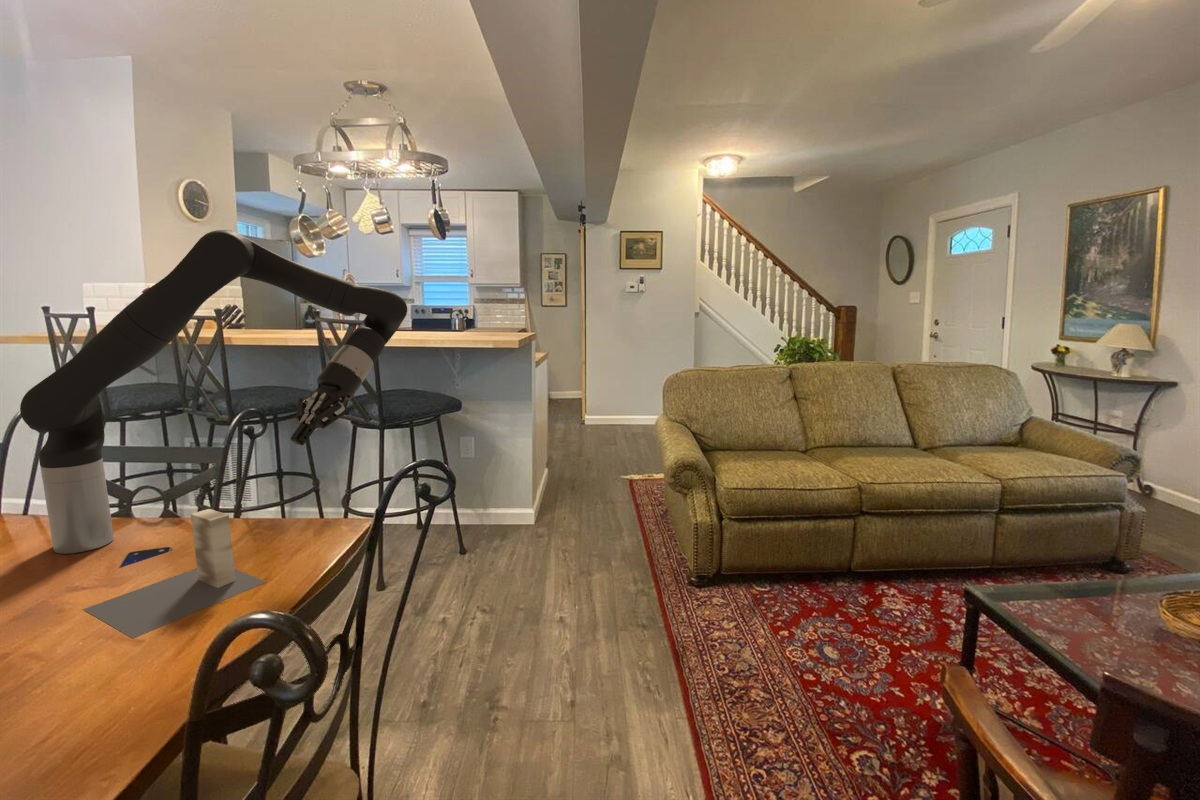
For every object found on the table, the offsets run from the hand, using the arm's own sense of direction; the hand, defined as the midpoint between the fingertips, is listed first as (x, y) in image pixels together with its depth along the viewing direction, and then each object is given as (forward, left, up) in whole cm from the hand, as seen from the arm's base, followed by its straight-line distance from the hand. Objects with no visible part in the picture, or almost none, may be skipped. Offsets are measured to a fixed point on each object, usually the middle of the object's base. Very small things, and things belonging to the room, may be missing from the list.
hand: (296, 442), depth 114 cm
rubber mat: (0, -23, -22) cm, 31 cm away
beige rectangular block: (0, -17, -21) cm, 27 cm away
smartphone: (-19, -20, -22) cm, 35 cm away
